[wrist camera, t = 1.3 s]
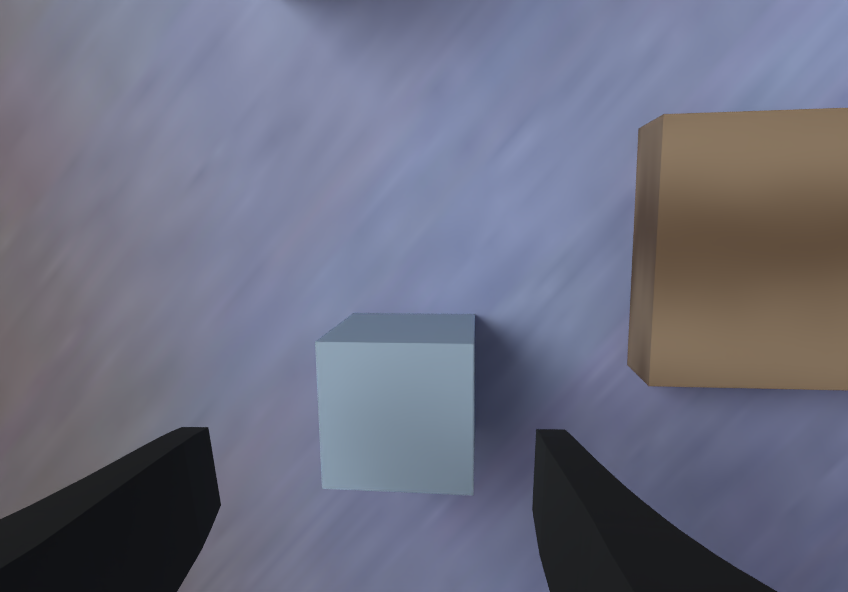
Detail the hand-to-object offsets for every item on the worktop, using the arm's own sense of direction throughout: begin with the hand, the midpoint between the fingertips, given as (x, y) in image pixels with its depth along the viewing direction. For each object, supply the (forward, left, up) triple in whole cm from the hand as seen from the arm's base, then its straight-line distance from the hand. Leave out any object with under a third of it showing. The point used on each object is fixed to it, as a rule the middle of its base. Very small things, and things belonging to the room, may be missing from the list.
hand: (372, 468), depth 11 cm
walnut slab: (+4, -13, -10) cm, 17 cm away
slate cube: (-1, 0, -10) cm, 10 cm away
